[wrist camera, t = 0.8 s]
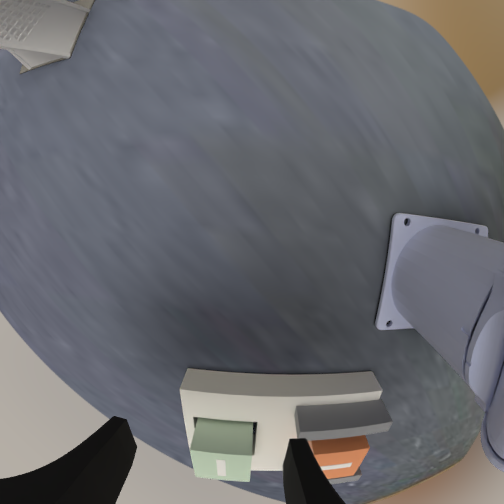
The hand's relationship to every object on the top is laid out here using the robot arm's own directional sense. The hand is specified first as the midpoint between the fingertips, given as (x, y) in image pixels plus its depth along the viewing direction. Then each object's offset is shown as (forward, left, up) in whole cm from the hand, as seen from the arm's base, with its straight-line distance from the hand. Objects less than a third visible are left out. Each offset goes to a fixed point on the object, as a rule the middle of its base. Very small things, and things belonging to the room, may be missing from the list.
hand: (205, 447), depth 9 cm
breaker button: (-8, +8, -7) cm, 13 cm away
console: (-4, +8, -9) cm, 13 cm away
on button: (0, +8, -7) cm, 11 cm away
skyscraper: (+16, -24, -10) cm, 30 cm away
